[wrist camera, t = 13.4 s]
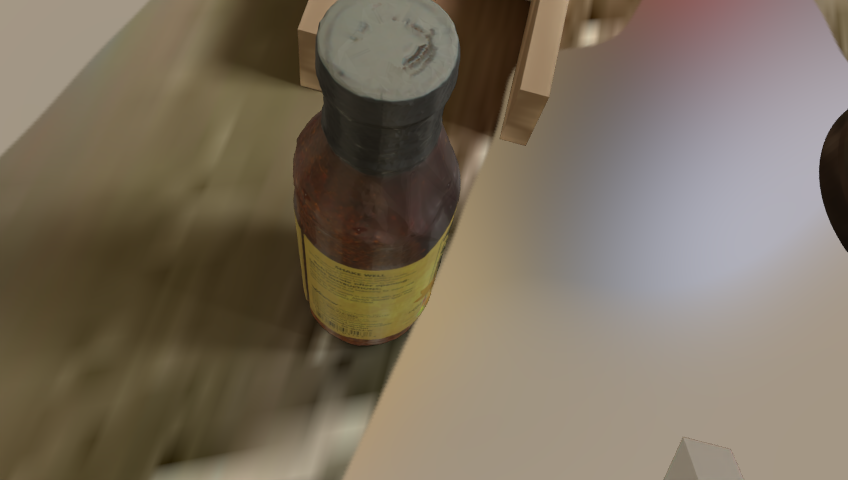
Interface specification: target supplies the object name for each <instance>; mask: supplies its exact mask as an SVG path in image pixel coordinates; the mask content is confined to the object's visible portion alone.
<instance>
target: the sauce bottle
mask: <svg viewBox="0 0 848 480" xmlns="http://www.w3.org/2000/svg"><path fill="white" fill-rule="evenodd" d="M459 63H460V44H459V38H458V35H457V32H456V28H455V25H454V23H453V21H452V20H451V19H450V17H449V15H448V14H447V13H446V12H445V11H444V10H443V9H442V8H441V7H440V6H439V5H438V4H436V3H435V2H433V1H431V0H338V1H336V2H335V3H334V4H333V5H332V6H331V7H330V8H329V9H328V10H327V12H326V13H325V15H324V17H323V19H322V20H321V21H320V22H319V26H318V31H317V35H316V43H315V69H316V76H317V78H318V81H319V85H320V88H321V90H322V93H323V95H324V96H323V100H324V105H323V107H322V110H321V111H320V112H319V113H318V114H316V115H315V116H314V117H313V118H312V119H311V120H310V121H309V122H308V123H307V125H306V126H305V128H304V129H303V130H302V132H301V133H300V135H299V137H298V138H297V146H296V151H295V154H294V160H293V178H294V186H295V189H294V198H293V202H294V213H295V221H296V230H297V238H298V246H299V254H300V262H301V270H302V279H303V287H304V293H305V297H306V300H307V301H309V304H310V310H311V313H312V314H313V316H314V318H315V319H316V320H317V321H318V323H319V324H320V325H321V326H322V327H323V328H324V329H325V330H326V331H328V333H330V334H332V335H334V336H336V337H337V338H339V339H341V340H343V341H345V342H348V343H350V344H354V345H357V346H359V345H367V346H369V345H376V344H381V343H386V342H388V341H391V340H394V339H396V338H398V337H399V336H401V335H402V334H404V333H405V332H407V331H408V329H409V328H410V327H411V326H412V324H413V323H414V321H415V320H416V319H417V318H418V317H419V316H420V315H421V313H422V311H423V310H424V308H425V307H426V305H427V303H428V301H429V298H430V295H431V290H432V287H433V284H434V281H435V277H436V274H437V271H438V268H439V266H440V263H441V258H442V253H443V251H444V249H445V245H446V242H447V238H448V235H449V231H450V228H451V226H452V221H453V219H454V215H455V211H456V208H457V204H458V201H459V194H460V184H461V181H460V170H459V164H458V161H457V158H456V156H455V153H454V150H453V148H452V146H451V144H450V141H449V139H448V136H447V134H446V131H445V129H444V126H443V123H442V114H443V110H444V106H445V104H446V102H447V101H448V99H449V98H450V95H451V93H452V91H453V89H454V88H455V85H456V81H457V77H458V67H459Z"/></svg>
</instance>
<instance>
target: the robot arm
mask: <svg viewBox="0 0 848 480" xmlns="http://www.w3.org/2000/svg"><path fill="white" fill-rule="evenodd" d="M819 180H820V189H821V195H822V199H823V203H824V206H825V209H826V212H827V215H828V218H829V220H830V223H831V225H832V227H833V229H834V231H835V233H836V235H837V236H838V238H839V240H840V241H841V243H842V245H843V246H844V248H845V249H846V251H847V252H848V110H847V111H845V112H844V113H843V114H842V115H841V116H840V117H839V118H838V119H837V121H836V122H835V123H834V124H833V126H832V128H831V129H830V131H829V133H828V135H827V137H826V139H825V142H824V145H823V148H822V152H821V157H820V165H819ZM664 480H744V479H743V476H742V474H741V472H740V469H739V467H738V465H737V462H736V460H735V458H734V456H733V453H732V451H731V449H728V448H724V447H720V446H717V445H713V444H709V443H705V442H701V441H697V440H693V439H690V438H686V437H683V438H682V441H681V443H680V445H679V447H678V449H677V451H676V454H675V456H674V458H673V460H672V463H671V465H670V467H669V469H668V471H667V474H666V476H665V478H664Z"/></svg>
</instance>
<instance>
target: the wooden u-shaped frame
mask: <svg viewBox="0 0 848 480" xmlns="http://www.w3.org/2000/svg"><path fill="white" fill-rule="evenodd" d="M336 1H338V0H308V3H307V6H306V8H305V11H304V14H303V16H302V19H301V22H300V24H299V27H298V46H299V65H300V84H301V86H304V87H308V88H312V89H316V90H319V91H322V90H321V88H320V85H319V81H318V78H317V76H316V69H315V43H316V35H317V31H318V26H319V22H320V21H321V20H322V19H323V17H324V15H325V13H326V12H327V10H328V9H329V8H330V7H331V6H332V5H333V4H334V3H335V2H336ZM527 1H531V4H530V8H529V12H528V17H527V21H526V26H525V30H524V34H523V39H522V43H521V48H520V52H519V56H518V61H517V65H516V69H515V74H514V78H513V83H512V87H511V92H510V96H509V100H508V105H507V109H506V114H505V118H504V122H503V127H502V131H501V135H500V139H502V140H506V141H510V142H513V143H517V144H520V145H525V146H526V144H527V142H528V140H529V138H530V135H531V134H532V131H533V129H534V127H535V125H536V123H537V121H538V119H539V117H540V115H541V113H542V111H543V109H544V107H545V105H546V102H547V101H548V98H549V95H550V90H551V85H552V81H553V76H554V70H555V66H556V61H557V55H558V51H559V46H560V41H561V36H562V31H563V26H564V21H565V16H566V12H567V7H568V2H569V0H527Z"/></svg>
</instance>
